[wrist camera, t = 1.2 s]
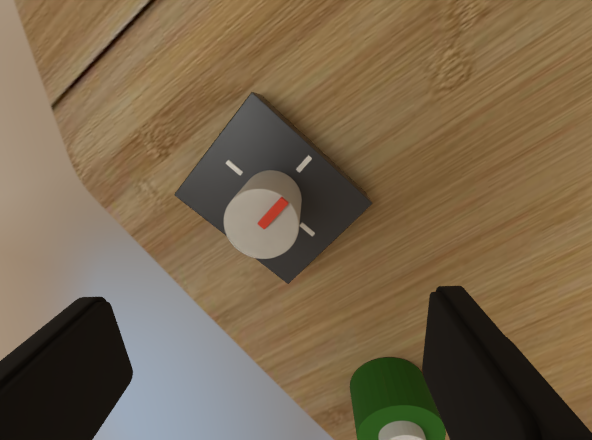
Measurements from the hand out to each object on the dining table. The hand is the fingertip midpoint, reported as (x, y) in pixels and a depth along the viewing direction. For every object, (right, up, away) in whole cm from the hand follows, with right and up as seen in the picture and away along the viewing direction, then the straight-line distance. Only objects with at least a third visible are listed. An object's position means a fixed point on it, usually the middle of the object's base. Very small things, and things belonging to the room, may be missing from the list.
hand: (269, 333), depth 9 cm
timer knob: (-1, +5, +14) cm, 15 cm away
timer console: (-1, +6, +17) cm, 18 cm away
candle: (+11, -15, +25) cm, 31 cm away
